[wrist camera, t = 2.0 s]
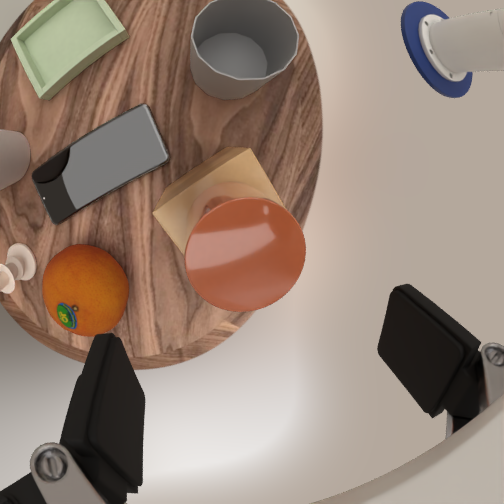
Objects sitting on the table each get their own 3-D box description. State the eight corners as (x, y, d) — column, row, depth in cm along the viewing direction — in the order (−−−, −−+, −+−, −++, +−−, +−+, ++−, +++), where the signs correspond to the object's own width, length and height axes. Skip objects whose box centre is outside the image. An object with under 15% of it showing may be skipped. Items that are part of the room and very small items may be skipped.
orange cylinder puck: (246, 163, 19) (269, 172, 13) (289, 237, 21) (323, 270, 16) (167, 215, 19) (158, 246, 13) (218, 283, 21) (229, 330, 16)
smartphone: (172, 160, 27) (54, 227, 26) (172, 160, 28) (57, 225, 27) (146, 100, 24) (28, 173, 23) (147, 101, 25) (33, 172, 24)
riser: (227, 146, 29) (250, 147, 18) (264, 205, 32) (303, 239, 22) (166, 187, 29) (151, 213, 18) (206, 243, 33) (215, 295, 22)
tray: (93, -15, 17) (87, -24, 15) (129, 37, 22) (125, 29, 19) (20, 43, 17) (10, 39, 15) (49, 100, 22) (39, 98, 20)
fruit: (106, 219, 29) (83, 243, 22) (148, 292, 33) (140, 331, 26) (44, 257, 29) (15, 287, 21) (86, 321, 33) (70, 359, 26)
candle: (42, 272, 29) (6, 315, 20) (19, 283, 29) (-17, 324, 19) (26, 236, 27) (-18, 271, 18) (3, 249, 27) (-39, 284, 17)
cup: (193, 103, 27) (194, 84, 17) (188, 37, 23) (188, -4, 14) (270, 97, 28) (304, 79, 19) (263, 33, 25) (293, -3, 16)
